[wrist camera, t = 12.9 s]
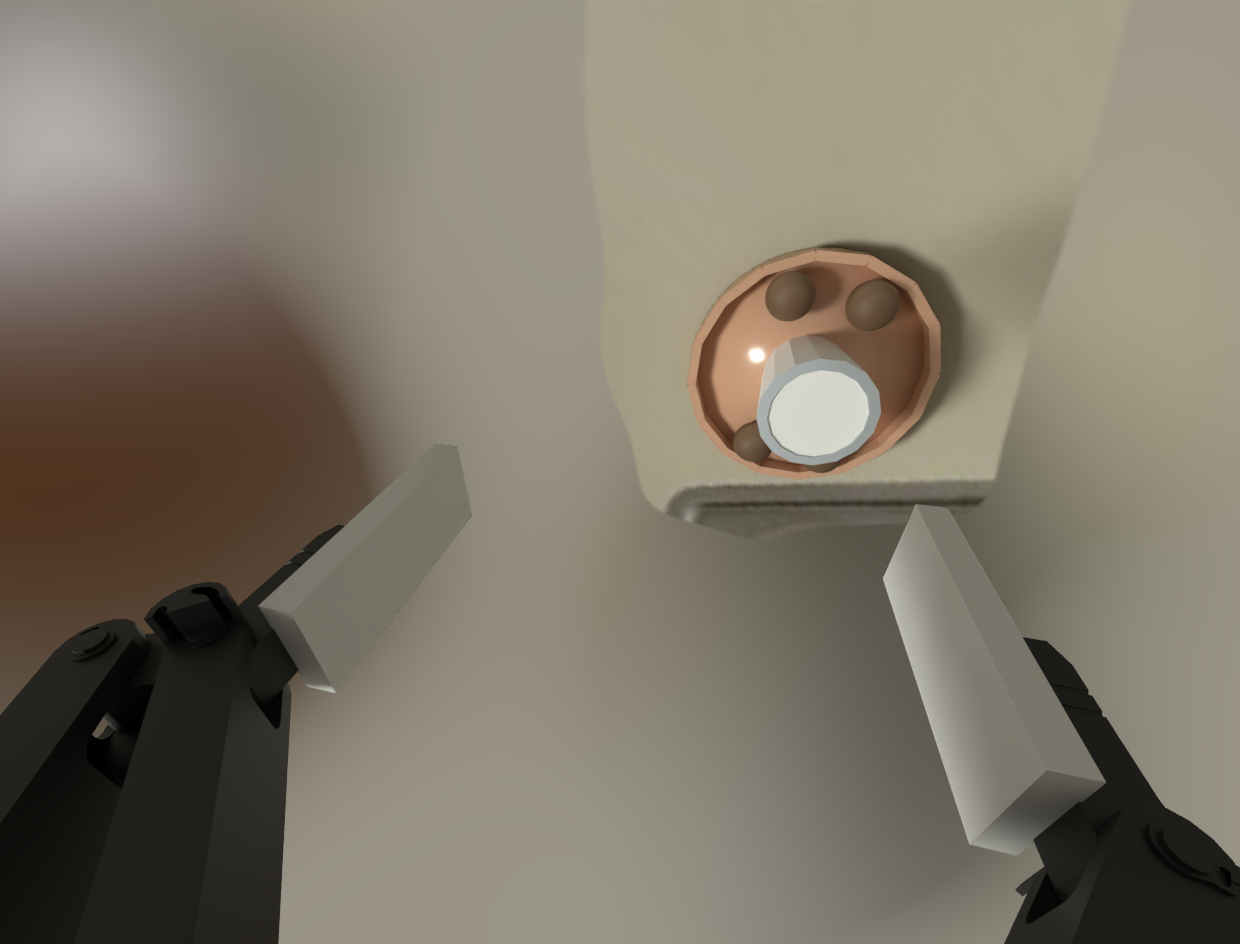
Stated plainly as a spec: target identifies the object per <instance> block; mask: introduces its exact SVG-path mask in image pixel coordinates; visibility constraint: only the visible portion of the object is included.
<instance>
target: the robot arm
mask: <svg viewBox="0 0 1240 944" xmlns="http://www.w3.org/2000/svg"><path fill="white" fill-rule="evenodd" d="M471 516H472V512H471V508H470V503H469V498H468V494H467V489H466V484H465V479H464V475H463V470H462V465H461V461H460V455H459V451H458V446H452V445H444V444H436V443H435V444H434V445H433V446H432V447H431V448H430V449H429V450H427V451H426V452H425V453H424V454H423V455H422V456H421V457H420V458H419V459H418V460H417V461H416V462H415V463H413V464H412V465H411V466H410V467H409V468H408V469H407V470H406V471H405V472H404V473H402V474H401V475H400V476H399V477H398V478H397V479H396V480H395V481H394V482H393V483H391V484H390V485H389V486H388V487H387V488H386V489H385V490H384V491H383V492H382V493H381V494H379V495H378V496H377V497H376V498H375V499H374V500H373V501H372V502H371V503H370V504H369V505H367V506H366V507H365V508H364V509H363V510H362V511H361V512H360V513H359V514H358V515H357V516H356V517H354V518H353V519H352V520H351V521H350V522H349V523H348V524H347V525H346V526H342V525H337V526H335V527H333V528H331V529H330V530H328V531H326V532H324V533H322V534H321V535H318V536H317V537H316V538H315V539H314V540H312V541H311V542H310V543H309V544H308V545H307V546H306V547H305V548H303V549H302V552H301V553H298V554H297V555H295V556H294V557H293V558H292V559H291V560H290V561H289V562H288V565H284V566H283V567H282V568H281V569H280V570H278V571H277V572H276V573H275V574H274V575H273V576H272V577H270V578H269V579H268V580H267V581H266V582H265V583H264V584H263V585H261V586H260V587H259V588H258V589H257V590H256V591H255V592H254V593H252V594H251V595H250V596H249V597H248V598H247V599H246V600H244V601H243V602H242V603H241V604H240V605H239V606H238V605H237V604H236V602H235V601H234V599H233V598H232V596H231V595H230V593H229V592H228V590H227V588H226V587H224V586H223V585H221V584H220V583H213V582H205V583H199V584H193V585H191V586H188V587H185V588H183V589H180V590H177V591H176V592H174V593H172V594H170V595H169V596H167V597H165V598H164V599H162V600H161V601H160V602H159V603H157V604H156V605H155V606H154V607H153V608H151V610H150V611H149V612H148V614H147V616H146V617H145V618H144V620H145V621H146V623H147V624H148V625H149V626H150V627H151V629H152V630H153V631H154V632H155V633H153V634H144V633H143V632H142V630H141V629H140V628H139V627H138V626H137V625H136V623H135V622H132V621H130V620H128V619H114V620H110V621H107V622H103V623H99V624H97V625H94V626H92V627H90V628H87V629H85V630H83V631H81V632H79V633H78V634H76V635H75V636H73V637H72V638H70V639H68V640H67V641H66V642H64V643H63V644H62V645H61V646H60V647H59V648H58V649H57V650H56V651H55V652H54V653H53V654H52V655H51V656H50V657H49V659H48V660H47V661H46V662H45V663H44V664H43V666H42V667H41V668H40V669H39V670H38V672H37V673H36V674H35V675H34V676H33V677H32V679H31V680H30V681H29V682H28V683H27V684H26V686H25V687H24V688H23V689H22V690H21V691H20V693H19V694H18V695H17V696H16V697H15V698H14V700H13V701H12V702H11V703H10V704H9V705H8V707H7V708H6V709H5V710H4V711H3V712H2V714H1V715H0V944H278V939H279V921H280V900H281V881H282V862H283V844H284V843H283V842H284V825H285V805H286V785H287V767H288V747H289V729H290V710H291V690H290V686H289V684H288V682H289V680H290V679H291V678H292V677H293V676H294V675H295V674H296V673H297V671H298V672H299V674H300V675H301V677H302V678H303V680H304V682H305V683H306V685H307V686H309V687H312V688H317V689H321V690H325V691H329V692H334V693H337V691H338V690H339V689H340V687H341V686H342V685H343V683H344V682H345V681H346V680H347V678H348V677H349V676H350V674H351V673H352V672H353V670H354V669H355V668H356V666H357V665H358V664H359V663H360V661H361V660H362V659H363V657H364V656H365V655H366V653H367V652H368V651H369V650H370V648H371V647H372V646H373V644H374V643H375V642H376V640H377V639H378V638H379V636H380V635H381V634H382V632H383V631H384V630H385V629H386V627H387V626H388V625H389V623H390V622H391V621H392V620H393V618H394V617H395V615H396V614H397V613H398V612H399V610H400V609H401V608H402V606H403V605H404V604H405V602H406V601H407V600H408V599H409V597H410V596H411V595H412V593H413V592H414V591H415V589H416V588H417V587H418V586H419V584H420V583H421V582H422V580H423V579H424V578H425V576H426V575H427V573H428V572H429V571H430V570H431V568H432V567H433V566H434V565H435V563H436V562H437V561H438V559H439V558H440V557H441V556H442V554H443V553H444V552H445V550H446V549H447V548H448V546H449V545H450V544H451V542H452V541H453V540H454V539H455V537H456V536H457V535H458V533H459V532H460V531H461V529H462V528H463V527H464V526H465V524H466V523H467V522H468V520H469V519H470V518H471ZM883 580H884V583H885V587H886V589H887V593H888V596H889V599H890V602H891V605H892V608H893V611H894V614H895V617H896V620H897V623H898V626H899V630H900V633H901V635H902V638H903V641H904V645H905V648H906V651H907V654H908V657H909V660H910V663H911V666H912V669H913V673H914V676H915V678H916V682H917V685H918V688H919V691H920V694H921V697H922V700H923V703H924V706H925V709H926V712H927V715H928V719H929V721H930V725H931V728H932V731H933V734H934V737H935V740H936V743H937V746H938V749H939V752H940V755H941V758H942V762H943V765H944V768H945V771H946V774H947V777H948V780H949V783H950V786H951V789H952V792H953V795H954V798H955V801H956V804H957V808H958V811H959V813H960V817H961V820H962V823H963V826H964V829H965V832H966V835H967V838H968V841H969V844H971V845H975V846H979V847H983V848H987V849H991V850H995V851H1000V852H1004V853H1008V854H1013V855H1018V854H1020V853H1021V852H1022V851H1023V850H1025V849H1026V848H1027V847H1028V846H1030V845H1031V844H1032V843H1033V842H1035V845H1036V847H1037V850H1038V852H1039V854H1040V857H1041V859H1042V861H1043V864H1044V867H1043V868H1042V869H1040V870H1039V871H1038V872H1036V873H1035V874H1034V875H1032V876H1031V877H1030V878H1028V879H1027V880H1026V881H1024V882H1023V883H1022V884H1021V885H1020V886H1019V887H1018V888H1017V889H1016V891H1017V892H1018V893H1019V894H1021V895H1022V896H1024V895H1025V894H1026V893H1027V895H1026V898H1025V900H1024V902H1023V904H1022V906H1021V908H1020V910H1019V913H1018V915H1017V917H1016V919H1015V921H1014V923H1013V926H1012V928H1011V930H1010V932H1009V934H1008V936H1007V939H1006V941H1005V943H1004V944H1240V867H1238V866H1236V865H1235V863H1234V862H1233V860H1232V859H1231V858H1229V856H1228V855H1227V854H1226V853H1225V852H1224V851H1223V850H1222V848H1221V847H1220V846H1219V845H1218V844H1217V843H1216V842H1215V841H1214V840H1213V839H1212V838H1211V837H1209V836H1208V835H1207V834H1206V833H1204V832H1203V831H1202V830H1201V829H1199V828H1198V827H1197V826H1195V825H1194V824H1193V823H1192V822H1190V821H1189V820H1187V819H1185V818H1183V817H1182V816H1179V815H1178V814H1176V813H1174V812H1172V811H1171V810H1169V809H1167V808H1165V807H1164V805H1163V804H1162V803H1161V802H1160V800H1159V799H1158V797H1157V796H1156V794H1155V793H1154V791H1153V790H1152V788H1151V786H1150V785H1149V783H1148V782H1147V780H1146V779H1145V777H1144V776H1143V774H1142V773H1141V771H1140V770H1139V768H1138V766H1137V765H1136V763H1135V762H1134V760H1133V758H1132V757H1131V755H1130V754H1129V752H1128V751H1127V749H1126V748H1125V746H1124V745H1123V743H1122V742H1121V740H1120V738H1119V737H1118V735H1117V734H1116V732H1115V731H1114V729H1113V727H1112V726H1111V724H1110V723H1109V721H1108V720H1107V718H1106V717H1103V716H1102V710H1101V709H1100V708H1099V706H1098V704H1097V703H1096V701H1095V700H1094V698H1093V696H1091V695H1089V694H1088V689H1087V687H1086V685H1085V684H1084V682H1083V681H1082V679H1081V678H1080V676H1079V675H1078V673H1077V672H1076V670H1075V668H1074V667H1073V666H1072V664H1070V662H1068V661H1067V660H1066V659H1065V658H1064V657H1063V656H1062V655H1061V654H1060V653H1059V652H1058V651H1057V650H1055V648H1054V647H1052V646H1051V645H1050V644H1049V643H1048V642H1047V641H1041V640H1036V639H1030V638H1024V637H1022V636H1021V634H1020V632H1019V630H1018V629H1017V627H1016V625H1015V623H1014V622H1013V620H1012V618H1011V617H1010V615H1009V613H1008V611H1007V610H1006V608H1005V606H1004V604H1003V603H1002V601H1001V599H1000V597H999V596H998V594H997V592H996V591H995V589H994V587H993V585H992V584H991V582H990V580H989V578H988V577H987V575H986V573H985V572H984V570H983V568H982V566H981V565H980V563H979V561H978V559H977V558H976V556H975V554H974V552H973V551H972V549H971V547H970V546H969V544H968V542H967V540H966V539H965V537H964V535H963V533H962V532H961V530H960V528H959V527H958V525H957V523H956V521H955V520H954V518H953V516H952V514H951V513H950V511H949V509H948V508H942V507H934V506H926V505H918V504H916V505H915V507H914V510H913V512H912V514H911V517H910V519H909V521H908V523H907V526H906V528H905V530H904V532H903V535H902V537H901V539H900V541H899V544H898V546H897V548H896V551H895V553H894V555H893V557H892V560H891V562H890V564H889V566H888V569H887V571H886V573H885V575H884V577H883ZM102 719H103V720H104V721H105V722H106V723H107V724H108V726H107V727H106V729H105V730H104V732H103V733H102V734H101V735H100V736H99V737H98V738H95V737H94V736H93V735H92V733H93V732H94V730H95V729H96V727H97V726H98V724H99V723H100V721H101V720H102Z"/></svg>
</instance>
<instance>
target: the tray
mask: <svg viewBox="0 0 1240 944" xmlns="http://www.w3.org/2000/svg"><path fill="white" fill-rule="evenodd" d="M787 271H799V272H802V273H804V274H806V275H807V276H809V277H810V278H811V280H812V281H813V283H814V286H815V290H816V297H815V301H814V304H813V306H812V308H811V309H810V310H809V312H808V313H807V314H806V315H804V316H803V317H802V318H800V319H798V320H795V321H789V322H786V321H780V320H778V319H776V318H774V317H773V316H772V315H771V314H770V313H769V311H768V310H767V307H766V304H765V295H766V291H767V288H768V286H769V284H770V283H771V282H772V280H773V279H774V278H776V277H777V276H778V275H780V274H782V273H784V272H787ZM869 280H884V281H887V282H889V283H891V284H892V285H893V286H894V287H895V288H896V289H897V291H898V293H899V296H900V307H899V310H898V312H897V314H896V316H895V317H894V319H893V320H892V321H891V322H890V323H889V324H888V325H886V326H885V327H883V328H881V329H878V330H874V331H862V330H859V329H856V328H855V327H853V326H852V325H851V324H850V323H849V322H848V320H847V318H846V315H845V304H846V300H847V298H848V296H849V294H850V293H851V292H852V291H853V290H854V289H855V288H856V287H857V286H858V285H860V284H861V283H864V282H866V281H869ZM803 335H812V336H822V337H824V338H826V339H828V340H830V341H831V342H833V343H835V344H837V345H838V346H839V347H840V348H841V349H842V350H843V351H844V352H845V353H846V354H847V355H848V356H849V357H850V358H851V359H852V360H853V361H854V362H856V363H857V364H858V365H859V366H860V367H861V368H862V369H863V370H864V371H865V372H866V373H867V374H868V376H869V377H870V379H871V380H872V382H873V383H874V385H875V386H876V388H877V389H878V390H879V396H880V406H881V414H880V417H879V420H878V422H877V425H876V427H875V430H874V433H873V434H872V435H871V436H870V437H869V438H868V439H867V441H866V442H865V443H864V444H863V445H862V446H861V447H860V448H859V449H858V450H857V451H855V452H853V453H851V454H849V455H847V456H846V457H844V458H843V459H842V461H841V463H840V464H839V466H838V467H837V468H835V469H834V470H832V471H830V472H827V473H816V472H813V471H810V470H809V469H807V468H806V467H805V466H804V465H803V464H800V463H793V462H790V461H788V460H786V459H784V458H782V457H781V456H779V455H777V454H775V453H773V452H771V454H770V455H769V456H768V457H767V458H765V459H764V460H762V461H759V462H748V461H745V460H743V459H742V458H740V457H739V456H738V455H737V454H736V452H735V450H734V447H733V438H734V435H735V433H736V431H737V430H738V429H739V428H740V427H741V426H743V425H744V424H747V423H750V422H757V419H756V416H757V409H758V402H759V396H760V389H761V382H762V376H763V372H764V367H765V363H766V361H767V360H768V358H769V357H770V355H771V354H772V352H773V351H774V349H776V348H777V347H779V346H780V345H781V344H783V343H784V342H786V341H787V340H789V339H792V338H796V337H799V336H803ZM940 373H941V334H940V324H939V322H938V320H937V318H936V316H935V315H934V313H933V311H932V309H931V308H930V306H929V304H928V302H927V301H926V299H925V297H924V295H923V294H922V292H921V290H920V288H919V286H918V285H917V283H916V282H915V281H913V280H911V279H910V278H908V277H906V276H905V275H903V274H902V273H900V272H898V271H897V270H895V269H893V268H892V267H890V266H888V265H887V264H885V263H884V262H882V261H880V260H879V259H877V258H875V257H874V256H872V255H870V254H869V253H867V252H857V251H853V250H848V249H842V248H827V247H818V248H816V247H814V248H809V249H801V250H797V251H793V252H789V253H785V254H782V255H780V256H777V257H774V258H772V259H769V260H767V261H765V262H763V263H761V264H759V265H758V266H756V267H754V268H752V269H751V270H749V271H748V272H747V273H745V274H744V275H742V276H741V277H739V278H738V279H737V280H736V281H735V282H734V283H733V284H731V285H730V286H729V287H728V288H727V289H726V290H725V291H724V292H723V293H722V294H721V295H720V296H719V297H718V299H717V300H716V302H715V303H714V305H713V306H712V308H711V309H710V311H709V312H708V314H707V316H706V318H705V319H704V321H703V323H702V325H701V327H700V329H699V331H698V332H697V334H696V336H695V339H694V343H693V349H692V356H691V362H690V369H689V376H688V382H687V386H688V389H689V393H690V397H691V400H692V404H693V408H694V411H695V415H696V419H697V422H698V424H699V425H700V427H701V428H702V429H703V430H704V431H705V433H706V434H707V435H708V436H709V438H710V439H711V440H712V441H713V443H714V444H715V445H716V446H717V448H718V449H719V450H720V451H721V453H722V452H723V454H724V455H726V456H728V457H730V458H732V459H733V460H735V461H737V462H739V463H741V464H742V465H744V466H746V467H748V468H750V469H751V470H753V471H755V472H757V473H762V474H769V475H775V476H781V477H787V478H793V479H798V478H799V479H805V478H812V477H818V476H825V475H831V474H838V473H843V472H846V471H848V470H850V469H852V468H854V467H856V466H858V465H860V464H862V463H864V462H866V461H868V460H870V459H872V458H874V457H876V456H878V455H880V454H882V453H885V451H887V450H888V449H889V448H890V447H891V446H892V445H893V444H894V443H895V442H896V441H897V440H898V439H899V438H900V437H902V436H903V435H904V434H905V433H906V432H907V431H908V430H909V429H910V428H911V427H912V426H913V425H914V424H915V423H916V422H917V421H918V420H919V419H920V417H921V416H922V414H923V412H924V409H925V407H926V405H927V403H928V401H929V398H930V396H931V394H932V392H933V390H934V387H935V385H936V383H937V381H938V379H939V376H940Z"/></svg>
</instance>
